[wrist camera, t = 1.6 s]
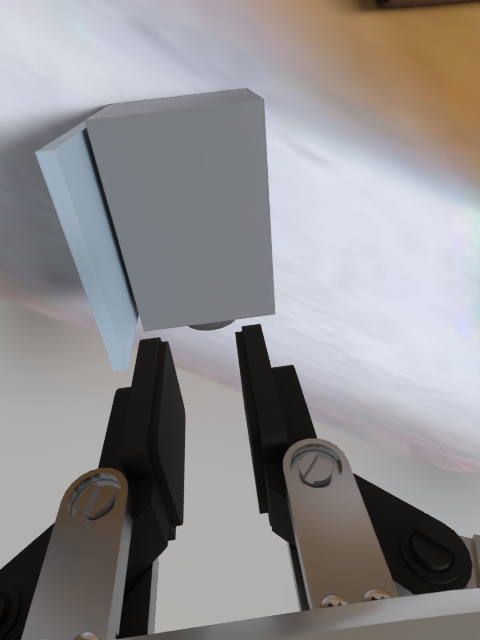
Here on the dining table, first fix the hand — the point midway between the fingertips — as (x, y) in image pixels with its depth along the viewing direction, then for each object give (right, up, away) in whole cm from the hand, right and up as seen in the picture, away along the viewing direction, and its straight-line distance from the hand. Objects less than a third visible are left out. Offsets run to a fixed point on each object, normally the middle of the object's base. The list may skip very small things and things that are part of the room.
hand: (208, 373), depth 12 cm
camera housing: (-2, +11, +18) cm, 21 cm away
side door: (-8, +10, +17) cm, 21 cm away
